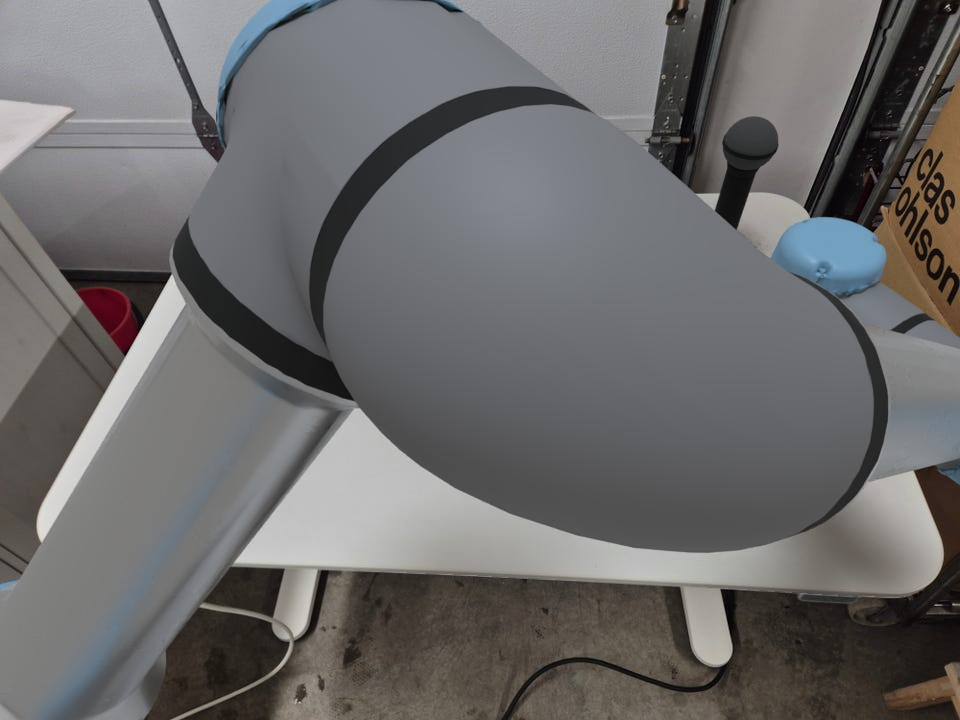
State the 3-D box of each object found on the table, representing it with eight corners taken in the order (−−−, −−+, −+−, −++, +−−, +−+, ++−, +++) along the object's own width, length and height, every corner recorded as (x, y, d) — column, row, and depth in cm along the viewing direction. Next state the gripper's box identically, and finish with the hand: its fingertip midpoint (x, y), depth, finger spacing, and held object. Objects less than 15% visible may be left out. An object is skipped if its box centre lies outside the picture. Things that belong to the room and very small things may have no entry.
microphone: (685, 238, 92) (719, 111, 76) (725, 229, 92) (766, 102, 77) (707, 266, 87) (747, 138, 72) (749, 257, 88) (797, 128, 73)
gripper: (602, 422, 59) (445, 321, 69) (727, 284, 70) (577, 214, 80) (611, 374, 53) (438, 271, 63) (746, 232, 65) (582, 163, 74)
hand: (516, 239), depth 72 cm, fingers open, 13 cm apart
